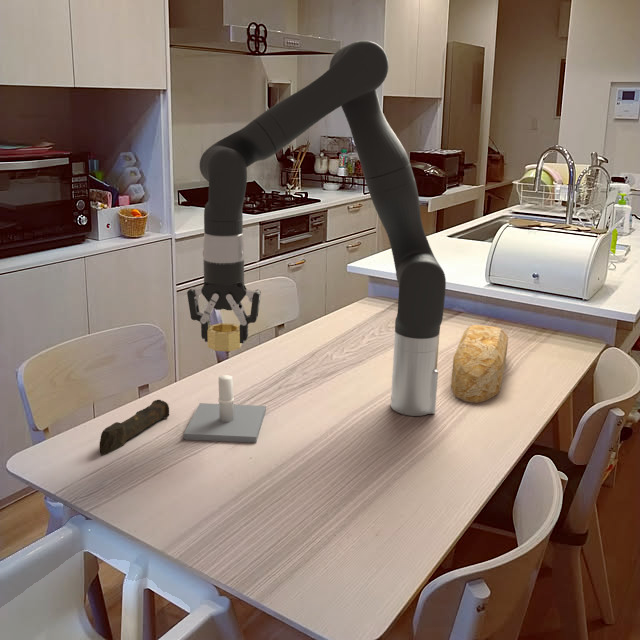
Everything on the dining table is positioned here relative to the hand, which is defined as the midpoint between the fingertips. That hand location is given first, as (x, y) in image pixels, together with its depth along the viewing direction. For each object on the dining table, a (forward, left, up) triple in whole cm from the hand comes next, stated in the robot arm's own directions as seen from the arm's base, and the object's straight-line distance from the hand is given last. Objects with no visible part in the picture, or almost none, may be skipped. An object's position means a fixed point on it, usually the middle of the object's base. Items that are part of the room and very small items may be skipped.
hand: (224, 341), depth 137 cm
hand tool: (+17, +6, -19) cm, 26 cm away
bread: (-56, -34, -19) cm, 68 cm away
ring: (0, 0, -1) cm, 1 cm away
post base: (0, 0, -18) cm, 18 cm away
